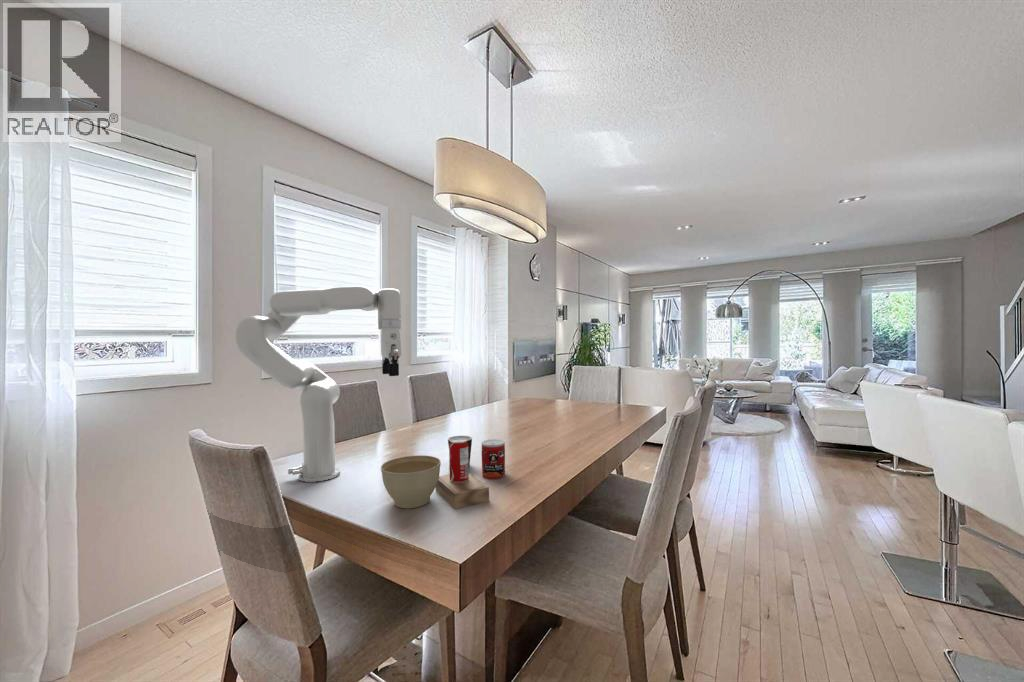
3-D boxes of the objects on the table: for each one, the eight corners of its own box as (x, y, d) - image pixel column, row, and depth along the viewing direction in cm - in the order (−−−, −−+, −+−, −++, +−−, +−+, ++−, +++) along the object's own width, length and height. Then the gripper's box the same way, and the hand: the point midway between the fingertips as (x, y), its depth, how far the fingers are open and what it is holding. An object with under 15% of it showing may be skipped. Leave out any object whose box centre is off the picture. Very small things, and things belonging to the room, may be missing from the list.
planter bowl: (397, 490, 124) (396, 454, 124) (448, 492, 122) (448, 455, 122) (370, 512, 108) (369, 471, 108) (429, 516, 106) (428, 473, 106)
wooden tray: (455, 509, 110) (455, 493, 110) (435, 490, 124) (435, 476, 124) (489, 501, 115) (488, 486, 115) (466, 484, 129) (466, 470, 129)
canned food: (481, 479, 132) (481, 445, 132) (482, 471, 140) (482, 439, 140) (505, 479, 133) (504, 444, 133) (505, 471, 141) (504, 438, 141)
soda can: (450, 477, 123) (449, 437, 122) (468, 476, 123) (467, 436, 123) (449, 484, 117) (448, 441, 117) (468, 483, 118) (468, 441, 118)
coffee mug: (471, 470, 142) (470, 441, 142) (446, 470, 142) (445, 441, 142) (474, 460, 154) (474, 433, 154) (451, 460, 154) (451, 433, 154)
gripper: (407, 324, 136) (408, 376, 136) (394, 325, 151) (395, 372, 151) (383, 324, 132) (384, 377, 132) (373, 325, 147) (374, 373, 148)
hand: (390, 374), depth 142 cm, fingers open, 9 cm apart
